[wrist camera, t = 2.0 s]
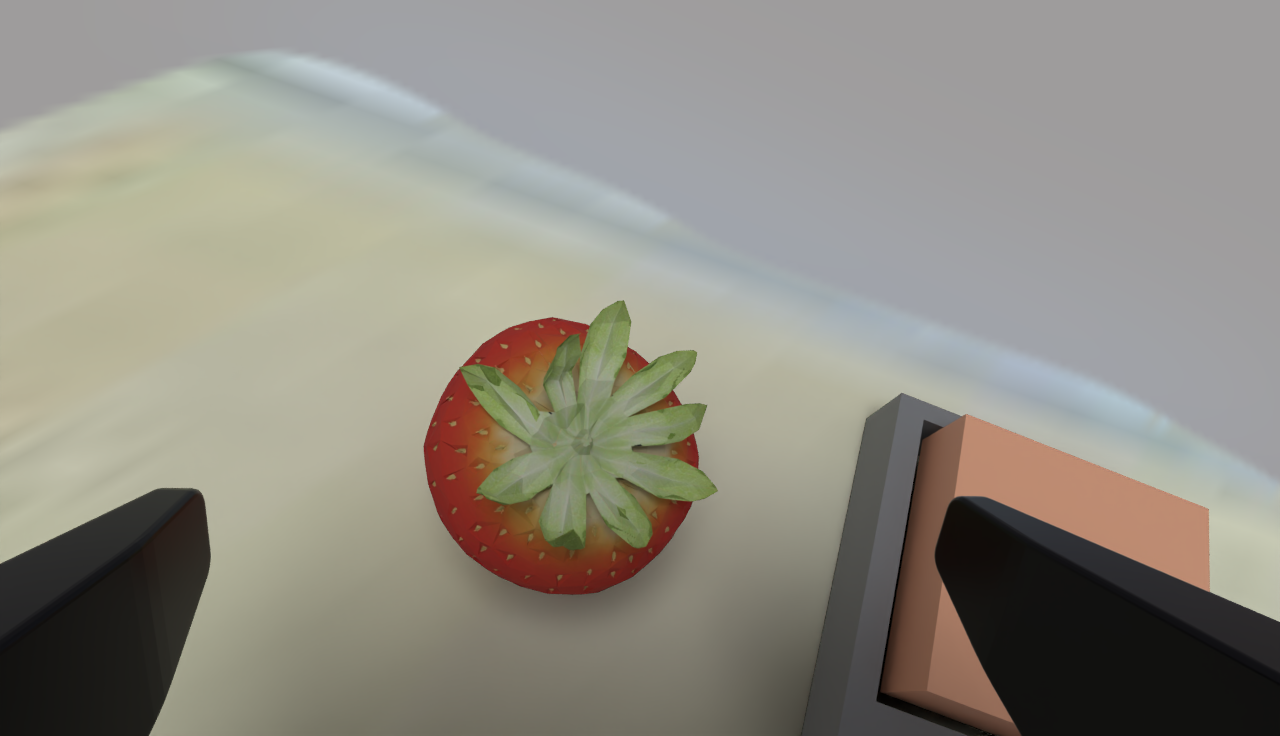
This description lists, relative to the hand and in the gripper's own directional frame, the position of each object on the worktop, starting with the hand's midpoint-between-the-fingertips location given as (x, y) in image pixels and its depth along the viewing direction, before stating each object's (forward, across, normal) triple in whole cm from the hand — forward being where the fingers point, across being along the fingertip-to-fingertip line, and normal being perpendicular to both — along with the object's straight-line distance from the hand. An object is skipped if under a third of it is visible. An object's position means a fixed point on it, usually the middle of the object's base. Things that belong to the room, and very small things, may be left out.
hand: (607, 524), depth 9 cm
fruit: (+9, 0, +5) cm, 10 cm away
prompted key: (+6, -12, +6) cm, 14 cm away
